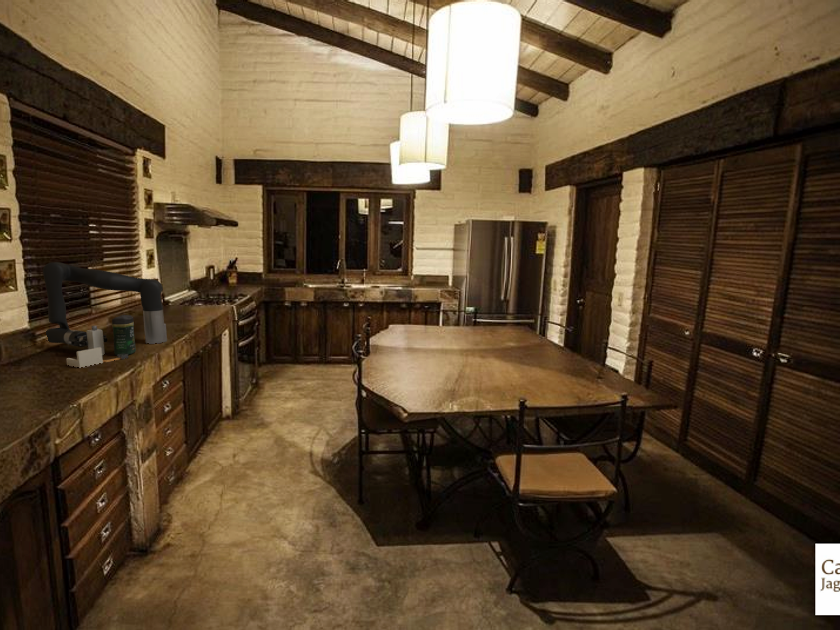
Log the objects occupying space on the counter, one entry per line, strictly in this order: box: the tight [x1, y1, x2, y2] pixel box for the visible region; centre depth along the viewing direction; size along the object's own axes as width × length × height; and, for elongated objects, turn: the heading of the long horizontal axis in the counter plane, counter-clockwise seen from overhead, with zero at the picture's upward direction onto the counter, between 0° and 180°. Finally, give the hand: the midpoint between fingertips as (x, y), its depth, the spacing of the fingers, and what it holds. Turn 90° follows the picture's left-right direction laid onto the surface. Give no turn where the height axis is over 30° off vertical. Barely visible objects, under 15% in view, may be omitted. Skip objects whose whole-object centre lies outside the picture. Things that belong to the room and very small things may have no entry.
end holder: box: [65, 347, 104, 369], centre depth 208 cm, size 10×9×7 cm
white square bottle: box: [86, 325, 106, 356], centre depth 224 cm, size 4×4×14 cm
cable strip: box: [103, 357, 122, 363], centre depth 215 cm, size 10×5×1 cm, turn 154°
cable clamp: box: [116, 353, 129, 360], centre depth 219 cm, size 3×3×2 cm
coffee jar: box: [111, 314, 137, 356], centre depth 226 cm, size 10×8×19 cm
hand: (96, 341), depth 223 cm, fingers open, 8 cm apart
